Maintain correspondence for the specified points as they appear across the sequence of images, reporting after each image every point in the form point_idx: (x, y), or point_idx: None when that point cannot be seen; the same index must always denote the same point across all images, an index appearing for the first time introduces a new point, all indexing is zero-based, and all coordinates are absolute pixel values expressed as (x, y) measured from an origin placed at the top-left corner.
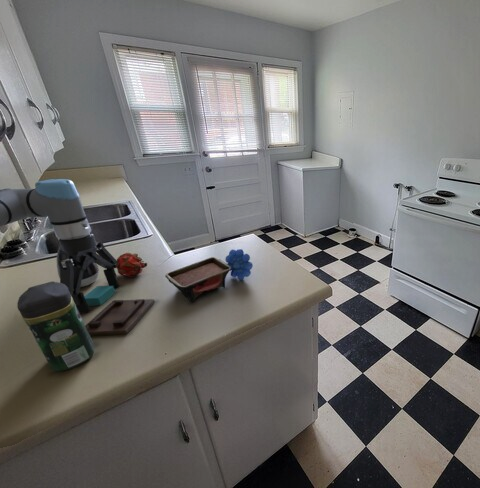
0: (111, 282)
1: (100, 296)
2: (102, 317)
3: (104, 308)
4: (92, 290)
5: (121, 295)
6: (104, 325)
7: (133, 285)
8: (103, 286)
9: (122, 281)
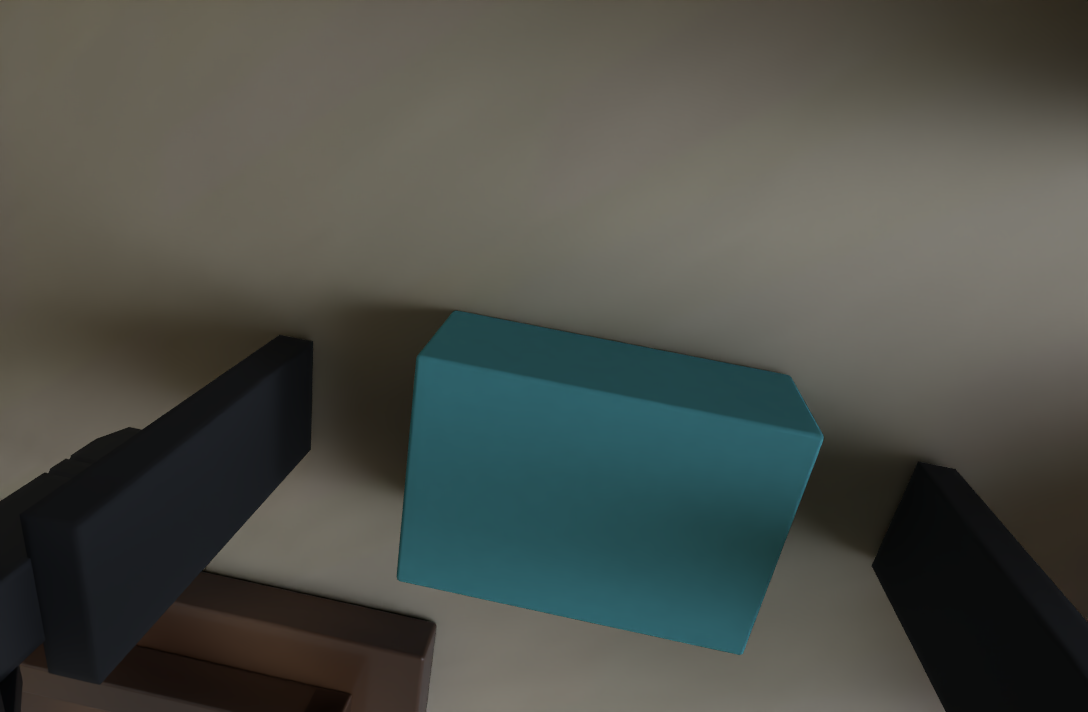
0: (935, 568)
1: (443, 588)
2: None
3: (267, 626)
4: (672, 420)
5: (619, 640)
6: None
7: (855, 703)
8: (768, 537)
9: (1083, 556)
